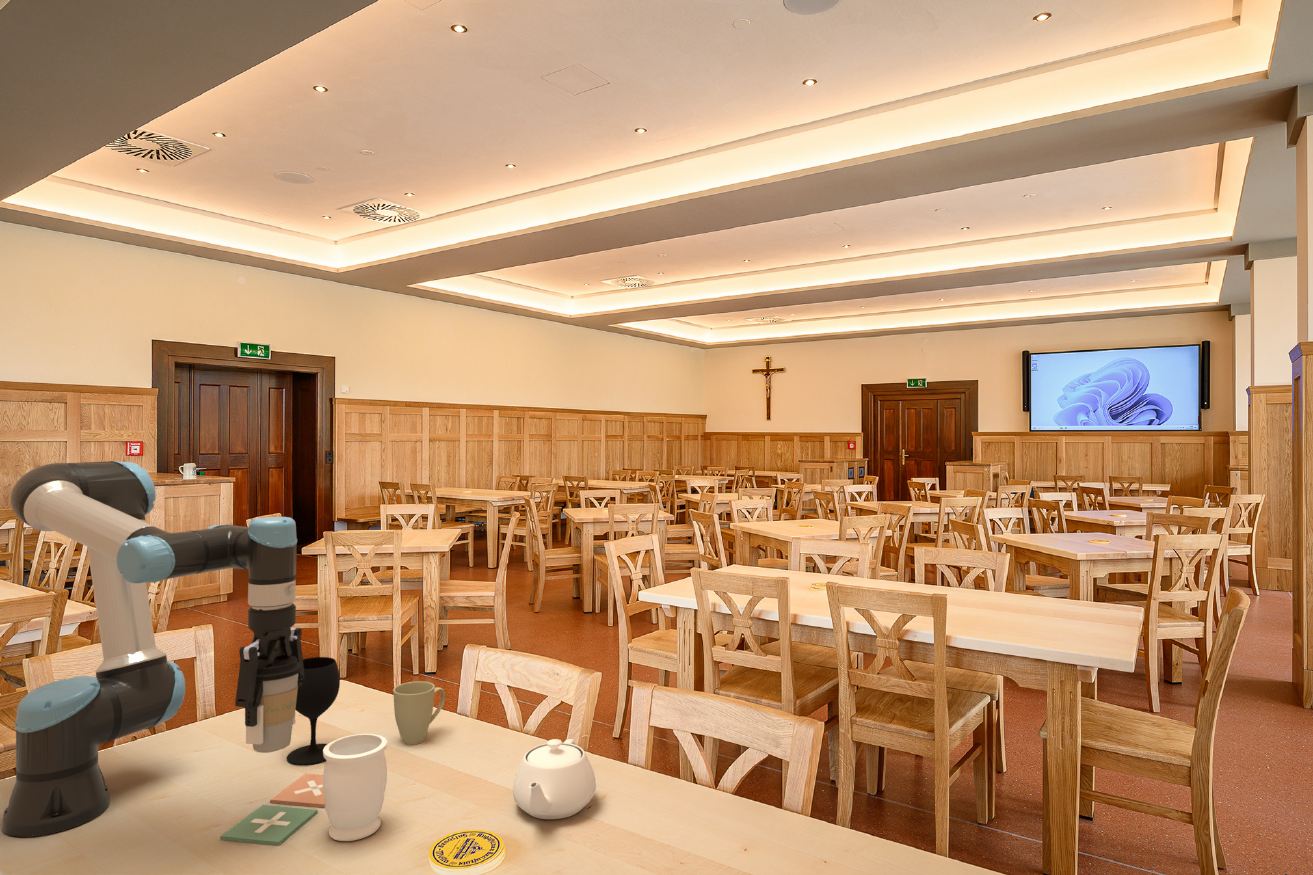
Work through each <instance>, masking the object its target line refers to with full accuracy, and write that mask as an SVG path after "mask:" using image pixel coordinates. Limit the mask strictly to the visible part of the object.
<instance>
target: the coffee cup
mask: <svg viewBox="0 0 1313 875" xmlns="http://www.w3.org/2000/svg"><path fill="white" fill-rule="evenodd" d="M259 660H261V659H260V658H259ZM263 661H266V660H263ZM301 670H302V668H301V664H300V663H299V662H297V658H296V657H295V656H289V657H288V658H287V659H281V658H275V659H274V662H273V665H272V666H268V667H266V668H258V667H257V675H256V681H263V694H262V698H261V701H260V705H264V706H263V743H262V744H261V745H259V744H252V749H253V750H254V751H255V752H256V753H263V754H266V753H273V752H277V751H281V750H283V749H285V748H287V747H289V746H290V745H291V740H292V732H293V725H294V724H293V718H294V716H295V717H296V710H295V708H296V699H297V690H298V684H297V682H298V673H299V672H301ZM263 672H264V675H258V674H261V673H263ZM253 700H254V699H253Z"/></svg>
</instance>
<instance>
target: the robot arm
mask: <svg viewBox="0 0 1313 875" xmlns="http://www.w3.org/2000/svg"><path fill="white" fill-rule="evenodd" d="M156 498H157V493H156V487H155V484H154V482H153V479H152V477H151V475H150V474H149V473H148V471H147V470H146V469H145V468H143V467H141V465H139V464H137V463H135V462H131V461H117V460H111V461H110V460H109V461H108V460H107V461H87V462H85V461H83V462H55V463H54V462H53V463H49V464H43V465H40V466H37V467H34V468H33V469H30V470H29V471H28V472H26V473H24V474H23V475H22V476H21V477H20V478H19V479H18V480H17V481H16V483H15V484H14V486H13V487H12V491H11V493H10V506H11V509H12V511H13V513H14V515H15V516H16V517H17V518H18V519H19V520H20V521H21V522H22V523H24V524H25V525H28V526H29V527H31V528H34V529H36V530H38V531H41V532H56V533H58V534H60V535H62V536H65V537H67V538H68V539H71V540H73V541H74V542H77V543H78V544H81V545H83V546H84V547H87V554H88V555H87V556H88V559H89V561H88V562H89V567H90V575H91V581H92V587H93V588H92V589H93V595H94V596H93V597H94V602H95V603H94V604H95V609H96V615H97V616H96V617H97V622H98V624H97V625H98V629H99V637H100V644H101V651H102V656H103V658H102V662H101V663H100V664H99V665H98V666H97V668H96V670H95V677H94V676H89V675H88V676H87V675H84V676H83V675H81V676H73V677H70V678H68V679H67V678H63V679H58V680H55V681H52V682H50V683H46V684H44V685H41V686H39V687H37V688H35V689H33V690H31V691H30V692H28V693H27V694H25V696H23V698H22V699H21V700H20V701H19V703H18V704H17V708H16V718H15V722H14V729H15V784H14V786H13V788H12V792H11V795H10V797H9V802H8V805H7V807H6V808H5V809H4V812H3V814H2V831H3V833H4V834H6V835H8V836H11V837H20V838H21V837H22V838H25V837H29V838H31V837H39V836H45V835H51V834H54V833H59V832H63V831H66V830H69V829H72V828H75V827H77V826H81V825H83V824H85V823H87V822H89V821H91V820H93V819H96V818H97V817H98V816H100V815H101V814H103V813H104V812H105V811H107V809H108V807H109V805H110V789H109V786H108V785H106V784H107V783H106V781H105V777H104V775H103V772H102V770H101V768H100V765H99V746H101V745H103V744H106V743H109V742H112V741H115V740H118V739H120V738H124V737H126V736H129V735H132V734H135V733H138V732H140V731H143V730H150V729H152V728H153V729H154V727H156V726H158V725H161V724H163V723H165V722H167V721H169V720H171V719H172V718H173V717H174V716H176V714H177V713H178V712H179V710H180V708H181V707H182V705H183V703H184V699H185V695H186V680H185V676H184V673H183V671H182V670H180V668H181V667H180V666H179V665H178V664H177V663H175V662H172V661H168V658H167V653H166V652H164V651H162V650H161V649H159V648H157V645H156V640H155V633H154V627H153V619H152V613H151V605H150V599H149V593H148V586H147V583H157V582H161V581H164V580H169V579H175V578H180V577H181V578H182V577H186V576H191V575H197V574H198V575H199V574H204V573H211V572H215V571H216V572H217V571H222V570H226V569H227V570H228V569H242V570H247V571H248V582H247V583H248V584H247V585H248V586H247V587H248V588H247V590H248V591H247V604H248V605H249V606H250V607H249V609H248V610H247V611H248V612H247V617H248V618H247V627H248V629H249V630H250V631H251V632H252V633H253V637H252V641H251V643H250V644H249V645H248V646H240V648H239V659H240V661H239V662H240V663H239V670H238V679H237V686H236V692H235V694H236V695H235V699H234V700H235V701H234V706H235V707H236V708H237V707H239V708H244V725H245V744H247V745H253V744H259V745H261V744H262V743H263V706H264V705H260V701H261V698H262V694H263V681H256V675H257V667H258V668H266V667H268V666H272V665H273V662H274V659H275V658H281V659H287V658H288V657H289V656H295V657H296V658H297V662H299V663H300V664H301V668H302V670H301V672H299V673H298V682H297V684H298V687H301V685H302V681H299V680H303V679H304V676H305V675H304V666H303V651H302V650H303V648H302V632H303V631H302V630H303V629H302V628H298V627H297V628H296V627H293V626H294V625H295V624H296V623H297V622H296V621H297V616H296V615H297V612H296V610H297V606H296V605H295V601H296V600H297V598H296V596H297V593H296V591H297V588H296V587H297V586H296V583H297V581H296V579H297V543H298V538H297V526H296V524H297V523H296V521H295V520H294V519H293V518H292V517H289V516H288V517H287V516H264V517H256V518H252V519H251V520H250V521H249V524H248V526H241V525H233V524H229V523H228V524H215V525H211V526H208V527H207V528H206V529H197V530H196V529H195V530H188V531H179V532H169V531H167V530H164V529H161V528H159V527H156V526H154V525H152V524H150V523H148V522H147V521H146V515H148V514H149V513H150V512H151V511H152V510H153V509H154V506H155V503H154V502H156ZM259 658H260V659H261V660H259ZM263 660H266V661H263ZM258 675H264V672H263V673H261V674H258ZM253 699H254V700H253ZM295 724H296V715H295V716H294V718H293V725H295Z"/></svg>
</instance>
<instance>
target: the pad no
mask: <svg viewBox="0 0 1313 875" xmlns="http://www.w3.org/2000/svg"><path fill="white" fill-rule="evenodd" d="M269 803H270V804H279V805H289V806H290V805H292V806H301V807H314V808H323V809H325V808H326V807H325V800H324V795H323V774H315V773H305V774H303V775H301V776H299V778H297V779H296V780H295V781H293V782H292V783H290V784H289V785H288V786H286V787H285V788H284V789H282V790H281V791H280V792H279V793H277V794H275V795H274V796H273V797H272V798H270V799H269Z"/></svg>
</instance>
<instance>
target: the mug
mask: <svg viewBox="0 0 1313 875" xmlns="http://www.w3.org/2000/svg"><path fill="white" fill-rule="evenodd" d="M437 692H440V701H439V704H438V706H437V707H436V709H435V711H434V699H435V694H436V693H437ZM392 694H393V696H392V697H393V710H394V718H395V719H394V720H395V722H396V723H395V724H396V726H397V729H398V733H399V735H400V738H401V742H402V743H403V744H404V745H409V746H410V745H413V746H414V745H418V744H421V743H423V742H424V741H425V739H426V736H427V733H428V730H429V727H430V725H431V724H432V722H433V721H434V720H435V719H436V718H437V716H439V713H440V712H441V710H442V709H443V707H444V704H445V702H446V692H445V690H444V688H442V687H439V686H438V687H437V686H435V684H434V683H433V682H430V681H424V680H423V681H418V680H416V681H409V682H404V683H401V684H398V685H396V686H395V687H394V688H393V690H392Z"/></svg>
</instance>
